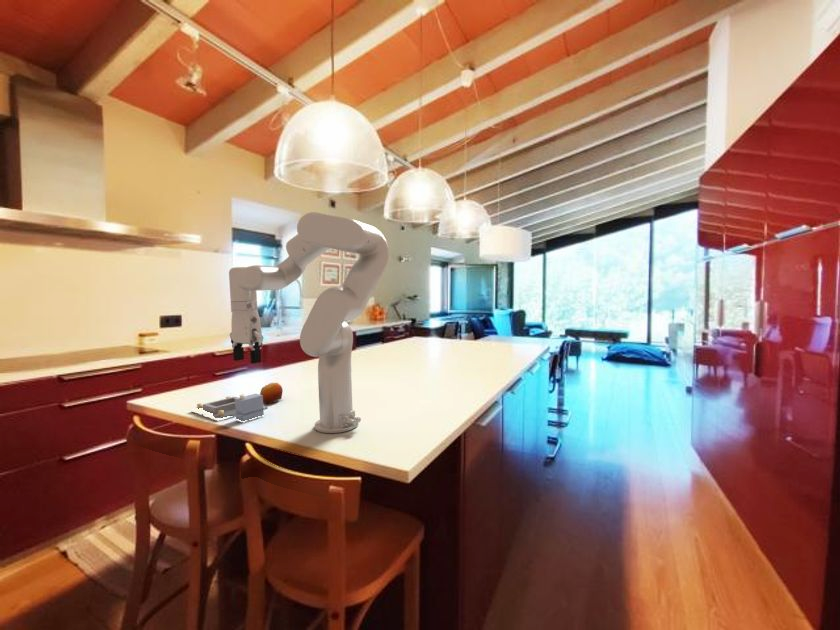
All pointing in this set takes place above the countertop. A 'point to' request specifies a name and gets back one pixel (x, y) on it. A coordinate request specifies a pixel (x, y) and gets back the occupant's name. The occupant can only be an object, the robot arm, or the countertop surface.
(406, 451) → the countertop surface
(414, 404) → the countertop surface
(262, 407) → the servo
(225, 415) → the chassis
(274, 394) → the fruit
